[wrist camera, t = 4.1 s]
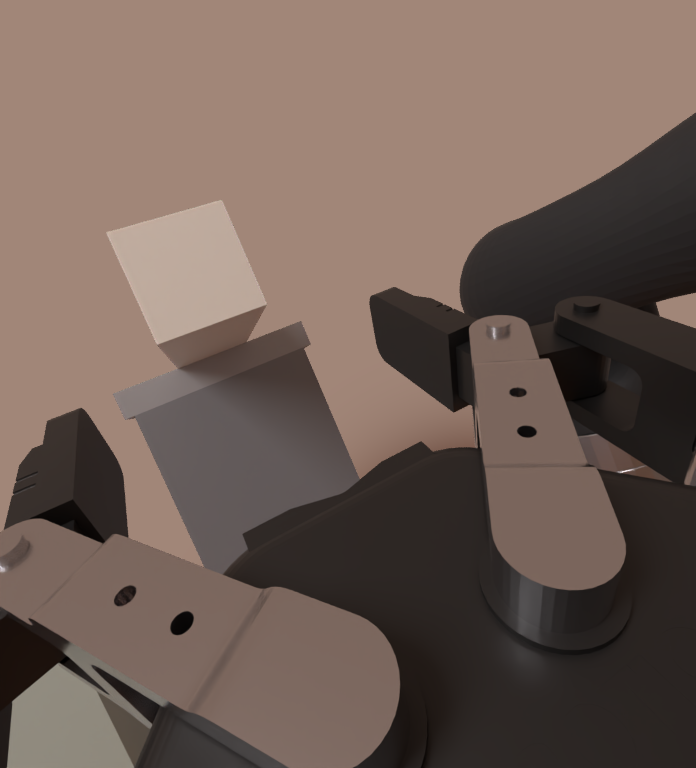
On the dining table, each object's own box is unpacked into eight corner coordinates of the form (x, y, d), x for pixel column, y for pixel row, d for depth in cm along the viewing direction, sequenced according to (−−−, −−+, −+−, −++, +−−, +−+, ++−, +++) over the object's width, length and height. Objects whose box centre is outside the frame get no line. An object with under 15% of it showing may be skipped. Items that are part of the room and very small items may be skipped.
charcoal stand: (396, 648, 44) (268, 352, 42) (494, 775, 29) (300, 321, 27) (296, 715, 41) (151, 398, 39) (347, 898, 26) (112, 394, 23)
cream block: (233, 365, 40) (215, 323, 40) (266, 304, 16) (221, 199, 16) (190, 382, 39) (171, 340, 38) (156, 344, 15) (105, 232, 15)
